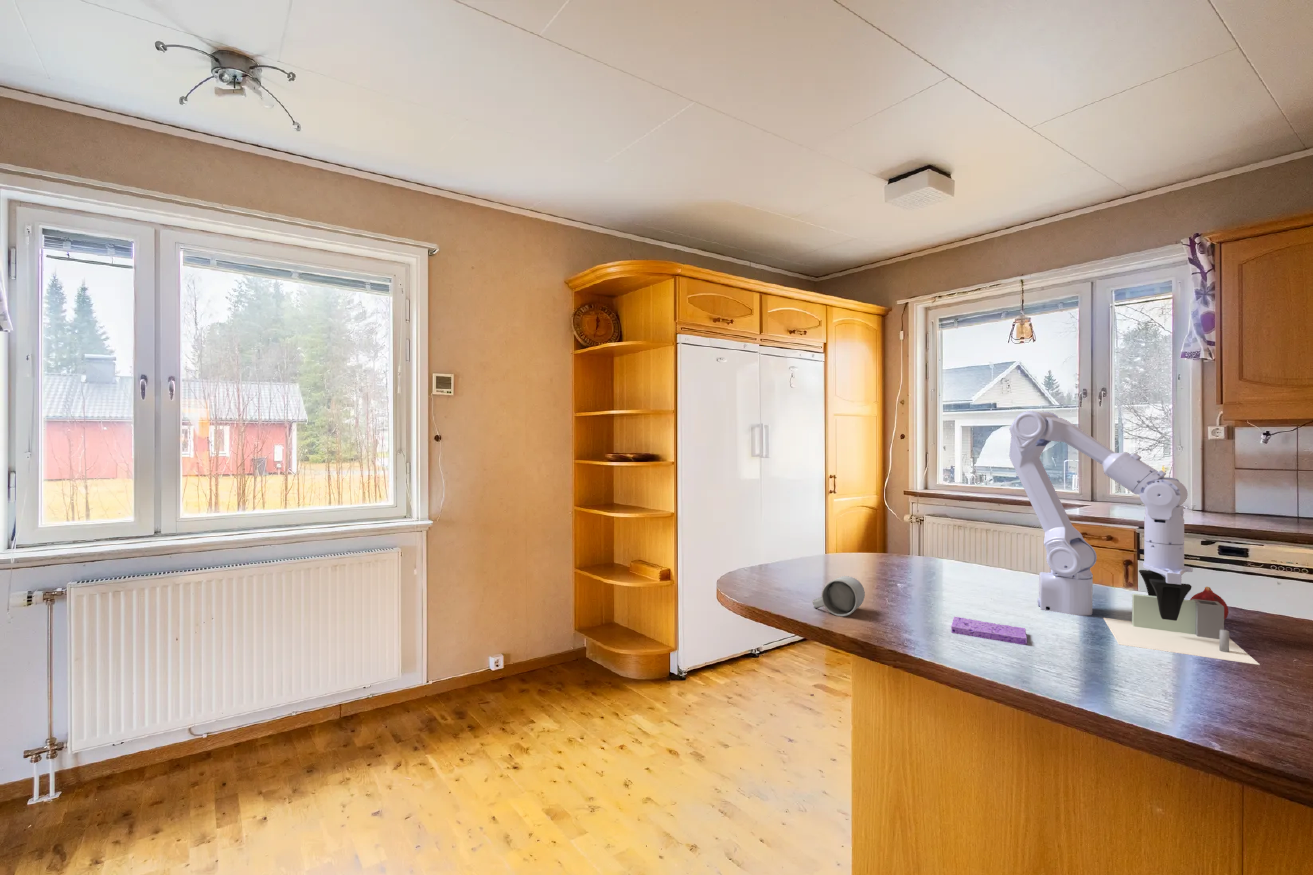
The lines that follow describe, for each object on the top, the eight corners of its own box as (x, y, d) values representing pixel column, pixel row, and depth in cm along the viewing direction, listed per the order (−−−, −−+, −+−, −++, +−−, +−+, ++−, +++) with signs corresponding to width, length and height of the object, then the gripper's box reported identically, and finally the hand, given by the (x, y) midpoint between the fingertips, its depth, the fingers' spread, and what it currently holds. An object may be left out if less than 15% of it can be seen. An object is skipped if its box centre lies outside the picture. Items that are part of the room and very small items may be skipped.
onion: (1236, 632, 113) (1236, 591, 113) (1201, 630, 114) (1202, 590, 114) (1214, 623, 119) (1214, 584, 119) (1181, 621, 120) (1181, 582, 120)
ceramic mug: (866, 609, 128) (866, 574, 128) (857, 619, 121) (856, 582, 121) (819, 602, 134) (818, 568, 134) (807, 611, 127) (806, 576, 127)
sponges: (953, 625, 119) (953, 616, 119) (1026, 636, 113) (1026, 626, 113) (950, 635, 113) (950, 625, 113) (1027, 648, 107) (1027, 637, 107)
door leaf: (1134, 628, 112) (1135, 596, 111) (1130, 622, 115) (1131, 592, 115) (1223, 639, 105) (1224, 606, 105) (1217, 633, 108) (1217, 601, 108)
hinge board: (1119, 652, 103) (1119, 624, 103) (1102, 624, 118) (1103, 600, 118) (1260, 673, 94) (1260, 642, 94) (1223, 640, 109) (1223, 614, 109)
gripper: (1204, 550, 102) (1203, 628, 102) (1180, 537, 115) (1180, 606, 115) (1152, 547, 106) (1152, 621, 106) (1135, 534, 118) (1134, 601, 119)
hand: (1163, 613), depth 111 cm, fingers open, 7 cm apart
